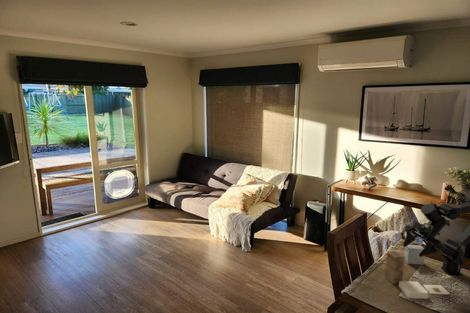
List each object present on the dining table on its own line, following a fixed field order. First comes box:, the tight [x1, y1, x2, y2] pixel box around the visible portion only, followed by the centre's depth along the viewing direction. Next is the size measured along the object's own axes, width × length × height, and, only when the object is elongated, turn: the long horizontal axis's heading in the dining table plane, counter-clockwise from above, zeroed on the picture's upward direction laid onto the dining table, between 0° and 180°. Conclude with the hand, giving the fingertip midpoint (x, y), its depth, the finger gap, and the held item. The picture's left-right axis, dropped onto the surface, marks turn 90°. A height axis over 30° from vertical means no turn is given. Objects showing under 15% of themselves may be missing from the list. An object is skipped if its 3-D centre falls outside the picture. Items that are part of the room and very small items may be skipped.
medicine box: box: [403, 244, 425, 266], centre depth 153 cm, size 8×4×9 cm, turn 84°
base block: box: [398, 280, 429, 300], centre depth 130 cm, size 8×8×3 cm
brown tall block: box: [384, 250, 405, 285], centre depth 138 cm, size 5×5×13 cm
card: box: [422, 284, 450, 295], centre depth 131 cm, size 8×6×1 cm
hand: (411, 251), depth 138 cm, fingers open, 9 cm apart
